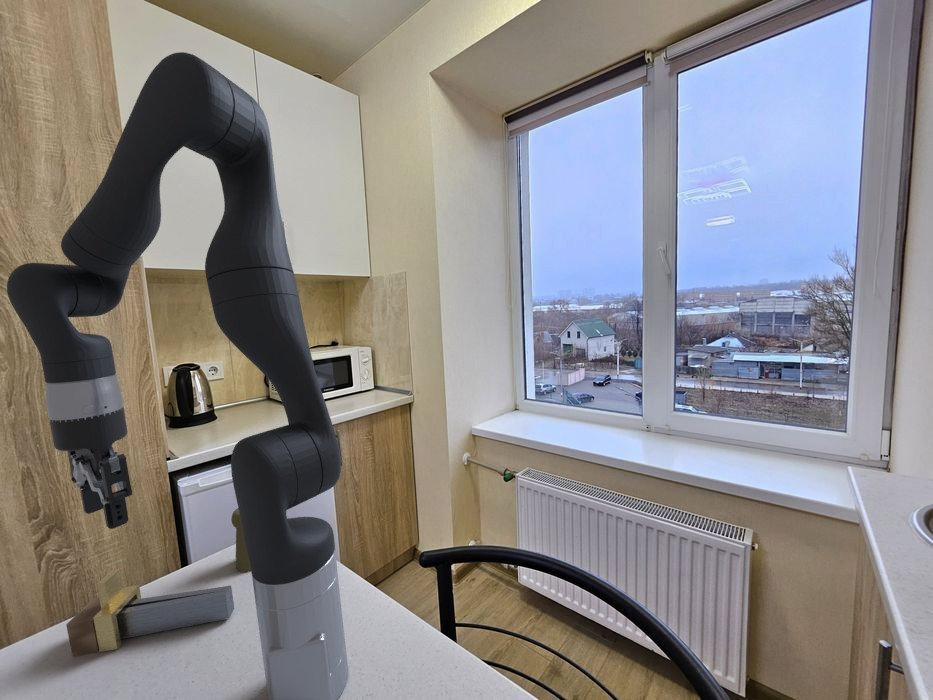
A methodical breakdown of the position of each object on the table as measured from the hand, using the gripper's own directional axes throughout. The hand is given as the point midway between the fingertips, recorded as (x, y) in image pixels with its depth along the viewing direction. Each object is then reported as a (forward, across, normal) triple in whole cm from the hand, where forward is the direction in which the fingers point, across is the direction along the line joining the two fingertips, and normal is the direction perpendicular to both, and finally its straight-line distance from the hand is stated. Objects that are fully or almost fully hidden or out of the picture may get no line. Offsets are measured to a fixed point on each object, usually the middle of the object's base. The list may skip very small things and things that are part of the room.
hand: (106, 517), depth 56 cm
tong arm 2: (+18, -5, -5) cm, 19 cm away
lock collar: (+18, 0, 0) cm, 18 cm away
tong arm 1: (+18, -6, -4) cm, 19 cm away
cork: (+19, -2, -19) cm, 27 cm away
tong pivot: (+19, +2, +3) cm, 19 cm away
